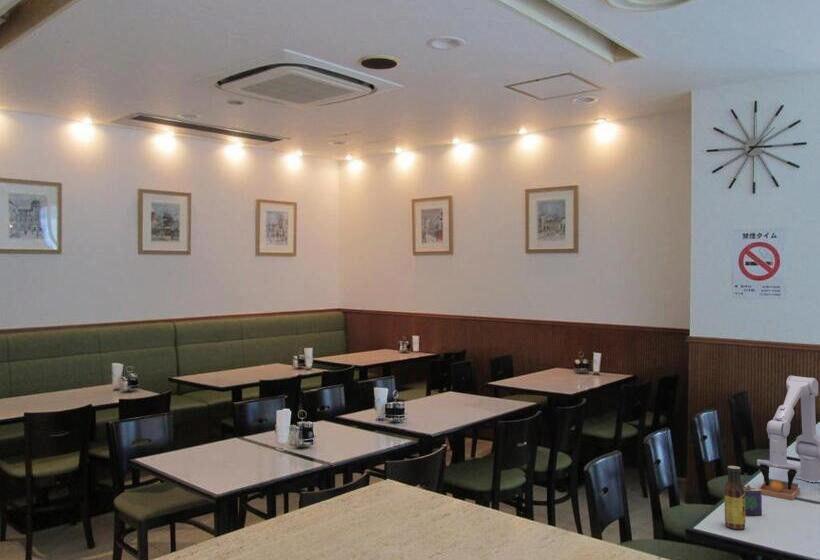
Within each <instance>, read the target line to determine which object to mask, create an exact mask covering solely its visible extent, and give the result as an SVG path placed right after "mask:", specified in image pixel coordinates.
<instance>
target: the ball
mask: <svg viewBox="0 0 820 560" xmlns="http://www.w3.org/2000/svg"><path fill="white" fill-rule="evenodd" d="M779 480H780V479H775V480H773V481H771V483H770V487H771V489H772V490H773V491H775V492H781V491H782V490H783V488H784V485H783V483H782V482H781V481H782V480H781V481H779Z"/></svg>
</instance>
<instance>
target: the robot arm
mask: <svg viewBox="0 0 820 560" xmlns="http://www.w3.org/2000/svg"><path fill="white" fill-rule="evenodd" d="M785 385H786V389H787V392H786V396H785V399H784V401H783V404H781V405H779V406H778V408H777V410H776V412H775V413H774V416H773V418H772V419H771V420H769V421H768V422H767V425H766V433H767V438H768V439H769V459H757V460H756V465H757V466H759V470H760V473H761V474H762V476H763V480H764V479H765V483H766V485H767V486H768V485H769V479H770V468H775V469H782V470H787V482H788V489H789V490H790V489H791V486H792V483H794V479H798V480H800V479H801V480H800V481H804V480H805V481H804V482H807V481H809V482H808V483H811V482H813V483H812V484H815V483H814V482H818V481H819V480H820V436H819V435H817V424H816V420H817V419H816V397H817V396H819V382H818V380H817V379H816V378H814V377H806V376H805V377H804V376H799V375H798V376H796V375H789V376H787V379H786V383H785ZM799 400H800V411H801V434H800V435H798V436H797V437H796V439H795V444H794V445H795V447H794V451H795V453H796V454H797V455H798V458H800V463H799V464H800V465H797V464H793V463H789V462H788V463H787V460H788V459H787V458H788V454H787V453H788V451H787V449H788V448H787V445H788V444H787V442H788V441H787V437H788V436H789V434H790V430H791V422H792V419H793V418H794V415H795V410H794V408H795V406H796V405H797V403H798V401H799ZM797 473H800V475H799V476H796V475H797ZM818 483H819V482H818Z"/></svg>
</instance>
